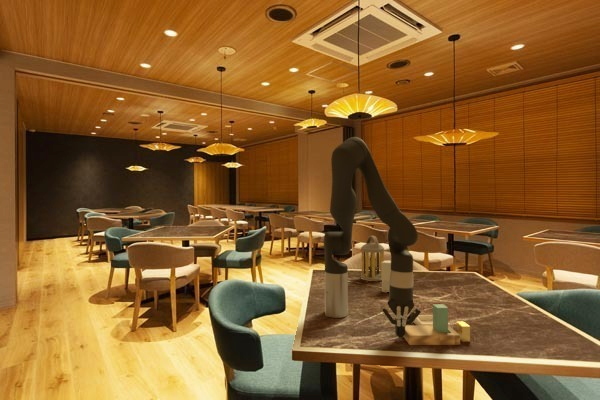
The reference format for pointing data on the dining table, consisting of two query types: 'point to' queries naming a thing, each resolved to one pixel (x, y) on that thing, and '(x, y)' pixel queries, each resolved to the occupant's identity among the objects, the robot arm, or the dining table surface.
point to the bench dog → (463, 331)
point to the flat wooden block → (430, 336)
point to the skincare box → (385, 275)
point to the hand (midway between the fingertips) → (400, 336)
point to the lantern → (372, 259)
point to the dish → (425, 320)
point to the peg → (440, 318)
